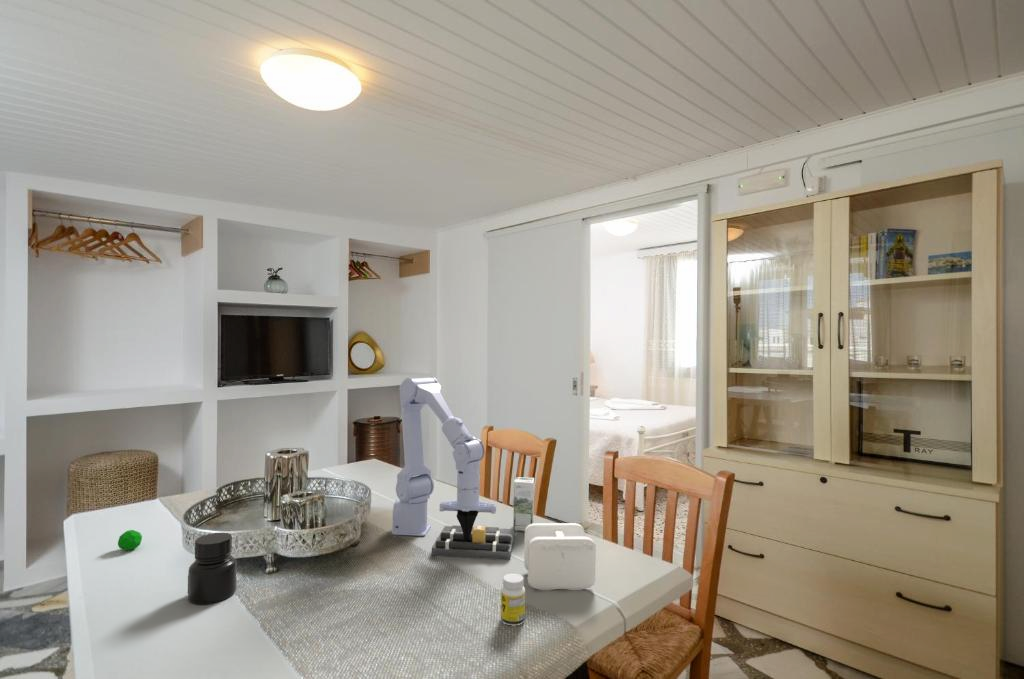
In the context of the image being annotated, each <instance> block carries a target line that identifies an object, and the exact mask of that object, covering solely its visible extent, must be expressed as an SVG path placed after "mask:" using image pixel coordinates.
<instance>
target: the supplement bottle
mask: <svg viewBox="0 0 1024 679" xmlns="http://www.w3.org/2000/svg"><path fill="white" fill-rule="evenodd" d="M524 582H525V581H524V576H523V575H521V574H518V573H507V574H505V575H503V579H502V587H501V590H500V593H501V594H500V620H501V623H502V622H503V623H505V624H508V625H518V624H521V623H523V622H524V623H525V621H526V620H525V619H526V588H525V586H524V585H525V584H524ZM524 620H525V621H524ZM503 623H502V624H503ZM524 623H523V624H524ZM505 624H504V625H505ZM521 625H522V624H521Z"/></svg>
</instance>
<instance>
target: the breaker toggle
mask: <svg viewBox="0 0 1024 679" xmlns="http://www.w3.org/2000/svg"><path fill="white" fill-rule="evenodd" d="M473 527H474V528H473V530H472V542H474V543H485V538H486V527H487V526H485V525H473Z"/></svg>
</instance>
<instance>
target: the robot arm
mask: <svg viewBox="0 0 1024 679" xmlns="http://www.w3.org/2000/svg"><path fill="white" fill-rule="evenodd" d="M398 389H399V399H400V400H399V403H400V407H401V408H400V409H401V422H402V423H401V424H402V438H403V439H402V441H403V455H404V456H403V457H404V458H403V459H404V466H403V468H401V470H400V471H399V472H398V473H397V474H396V479H397V480H396V484H395V495H396V496H397V499H395V501H394V502H393V507H392V531H391V535H399V536H414V537H415V536H416V537H417V536H419V537H424V536H425V535H427V533H428V532H429V531H430V528H431V527H432V525H431V524H428V500H429V499H430V496H431V495H432V494H433V491H435V490H434V488H435V482H434V479H433V477H432V476H433V475H432V470H431V469H430V468H429V467H428V466H426V465H425V464H424V463H425V462H424V446H423V431H422V416H421V410H422V409H423V408H424V407H425V405H427V406H429V408H430V410H431V411H433V413H434V414H435V415H436V417H437V418H438V419H439V421H440V423H441V424H442V426H441V431H442V433H443V434H444V436H445V438H446V440H447V441H448V442H449V444H450V445H451V447H452V449H453V451H452V457H453V459H454V462H455V469H456V470H457V478H456V479H457V485H456V488H457V489H456V501H455V500H453V501H441V502H440V503H439V512H447V511H448V512H456V519H457V521H458V523H459V524H460V525H459V526H461V528H462V531H463V535H464V541H470V538H471V532H472V528H473V527H474V526H475V525H474V524H475V522H476V519H477V517H478V515H479V513H488V514H489V513H491V514H492V515H493V514H496V513H497V503H490V502H483V501H480V476H481V475H480V474H481V473H480V466H481V461H482V460H483V458H484V456H485V447H484V446H485V445H484V444H483V442H482V440H480V439H479V438H476V437H475V436H474V435H472V434H471V433H470V431H469V429H467V426H466V425H465V424H464V421H463V420H462V419H461V418H460V417H455V416H454V415H453V413H452V411H451V410H450V407H449V406H448V404H447V403H446V400H445V399H444V397H443V395H442V394H441V393H442V385H441V384H440V383H439V381H438V379H437V378H436V377H434V376H429V377H406V378H404V379H403V381H402V382H401V384H400V385H399V388H398Z"/></svg>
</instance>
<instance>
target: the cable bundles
mask: <svg viewBox="0 0 1024 679" xmlns="http://www.w3.org/2000/svg"><path fill="white" fill-rule="evenodd" d="M441 532H442V533H441ZM441 532H440V533H441V536H440V538H441V539H447V540H446V541H436V540H435V542H436V545H435V546H436V547H437V548H445V549H447V550H448V549H449V548H457V549H478V550H493V552H496V550H498V551H508V550H509V549H510V546H509V545H508V544H497V543H498V542H510V541H511V540H512V536H511V535H510V534H500V531H497V532H496V533H486V538H485V541H494V542H493V543H474V542H453V540H464V535H463V532H456V529H452V531H442V530H441ZM470 540H472V532H471V538H470Z"/></svg>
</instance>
